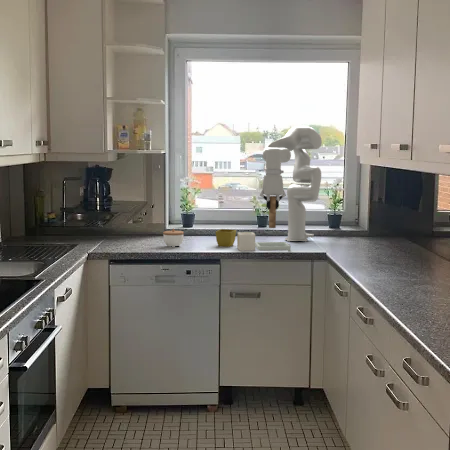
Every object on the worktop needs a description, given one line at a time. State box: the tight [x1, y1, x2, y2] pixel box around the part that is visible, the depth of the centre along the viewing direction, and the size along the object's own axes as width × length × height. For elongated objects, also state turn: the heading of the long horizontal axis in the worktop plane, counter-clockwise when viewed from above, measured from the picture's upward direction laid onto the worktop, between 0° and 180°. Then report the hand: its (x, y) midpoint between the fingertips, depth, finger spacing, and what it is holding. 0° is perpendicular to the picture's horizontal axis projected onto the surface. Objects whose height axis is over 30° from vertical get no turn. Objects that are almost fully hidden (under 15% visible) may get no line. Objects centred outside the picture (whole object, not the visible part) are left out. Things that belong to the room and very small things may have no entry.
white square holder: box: [236, 231, 256, 252], centre depth 321 cm, size 8×8×9 cm
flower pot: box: [215, 228, 237, 248], centre depth 332 cm, size 9×9×9 cm
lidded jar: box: [162, 228, 185, 248], centre depth 335 cm, size 11×11×9 cm
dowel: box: [268, 195, 277, 229], centre depth 324 cm, size 3×3×16 cm
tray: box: [255, 241, 292, 252], centre depth 327 cm, size 16×14×3 cm
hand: (272, 208), depth 324 cm, fingers closed on dowel, 3 cm apart
